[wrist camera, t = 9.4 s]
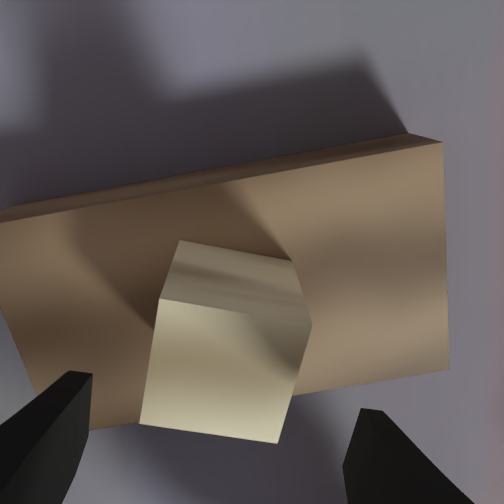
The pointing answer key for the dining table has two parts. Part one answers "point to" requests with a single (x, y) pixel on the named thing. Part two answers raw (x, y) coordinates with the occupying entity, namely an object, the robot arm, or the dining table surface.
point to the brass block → (245, 240)
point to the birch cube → (226, 344)
